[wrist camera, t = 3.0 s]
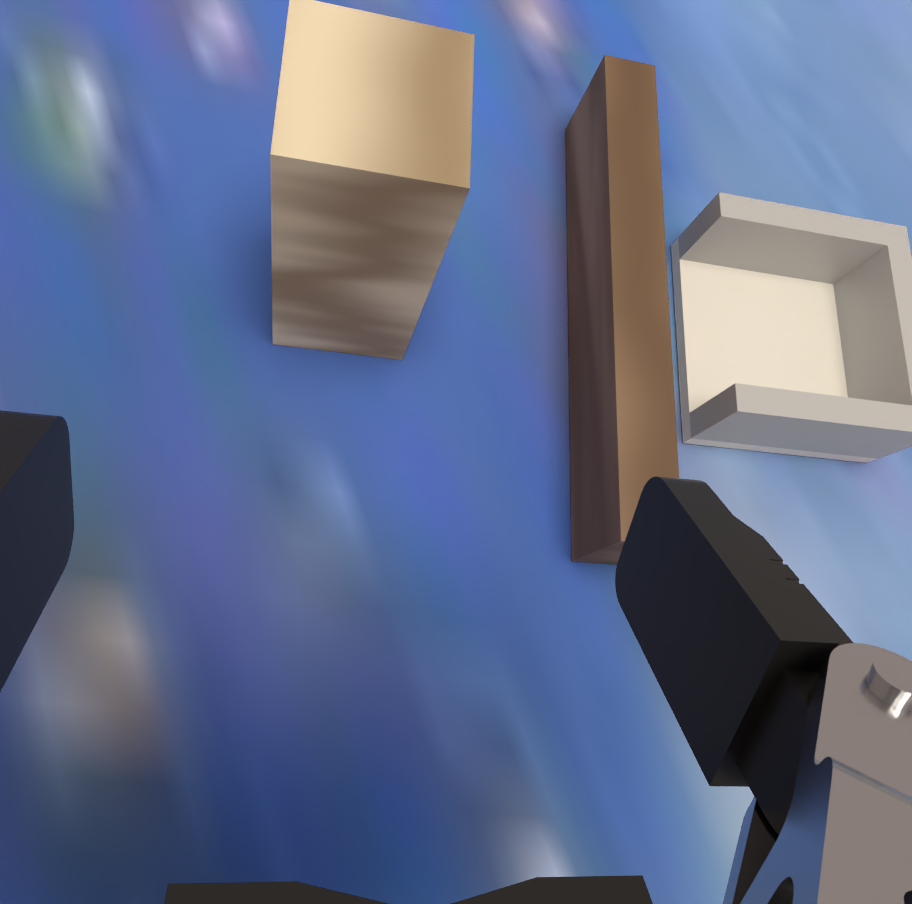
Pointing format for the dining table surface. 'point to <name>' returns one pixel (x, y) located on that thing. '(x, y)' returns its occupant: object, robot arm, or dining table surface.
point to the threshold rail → (616, 308)
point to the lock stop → (364, 174)
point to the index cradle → (793, 331)
